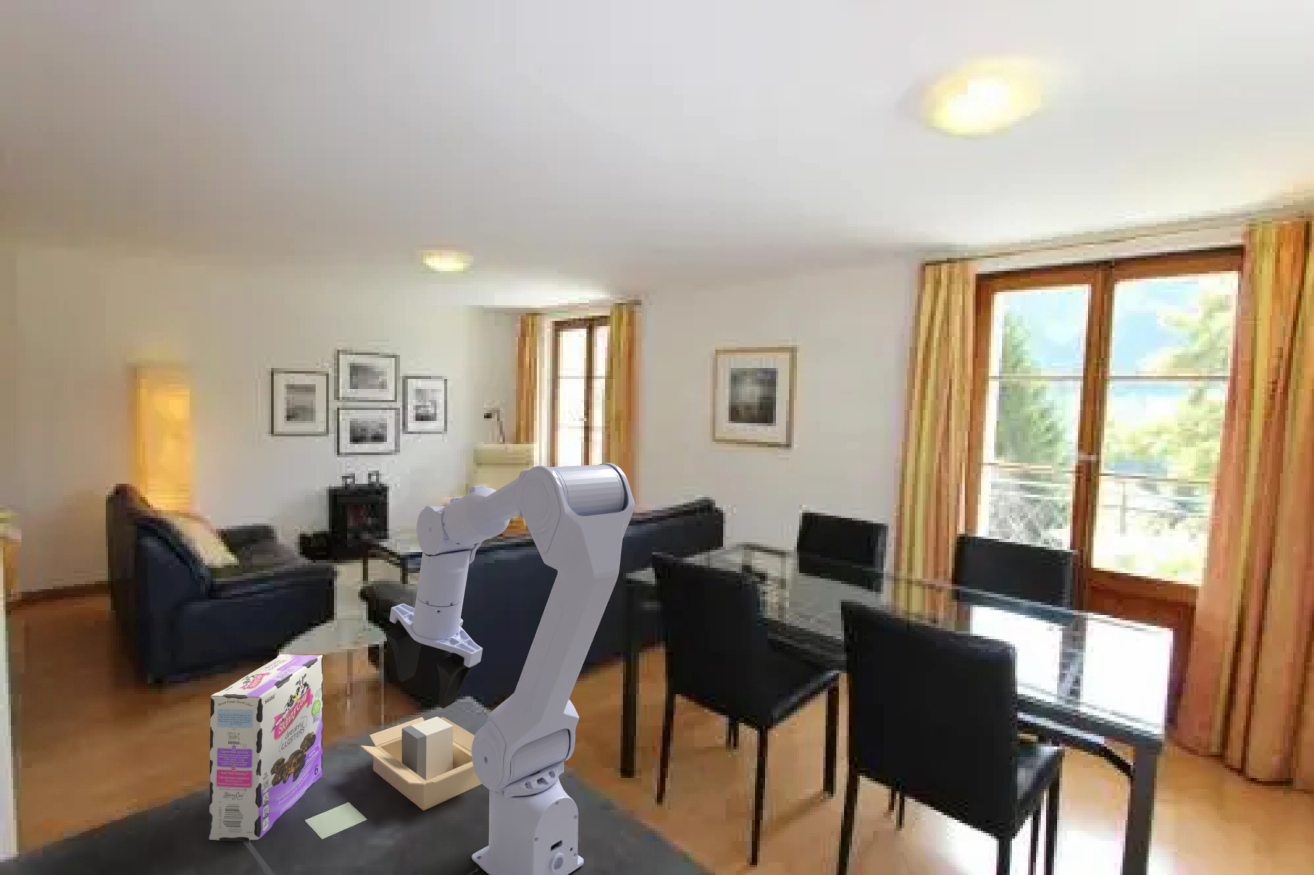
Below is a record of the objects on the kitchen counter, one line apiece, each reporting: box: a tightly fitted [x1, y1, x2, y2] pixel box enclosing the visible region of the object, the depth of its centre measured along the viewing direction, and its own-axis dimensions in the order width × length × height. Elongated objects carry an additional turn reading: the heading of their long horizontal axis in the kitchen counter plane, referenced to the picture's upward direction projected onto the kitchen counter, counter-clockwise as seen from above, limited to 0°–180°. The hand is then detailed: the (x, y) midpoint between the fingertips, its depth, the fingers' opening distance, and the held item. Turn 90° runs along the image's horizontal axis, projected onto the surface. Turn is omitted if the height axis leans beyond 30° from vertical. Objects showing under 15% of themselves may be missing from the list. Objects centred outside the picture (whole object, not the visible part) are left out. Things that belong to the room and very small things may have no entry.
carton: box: [359, 716, 483, 811], centre depth 86 cm, size 12×17×4 cm
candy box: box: [208, 653, 324, 843], centre depth 80 cm, size 14×6×16 cm, turn 179°
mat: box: [304, 802, 368, 840], centre depth 77 cm, size 5×5×1 cm
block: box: [402, 716, 453, 781], centre depth 86 cm, size 5×4×7 cm
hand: (426, 690), depth 86 cm, fingers open, 7 cm apart
